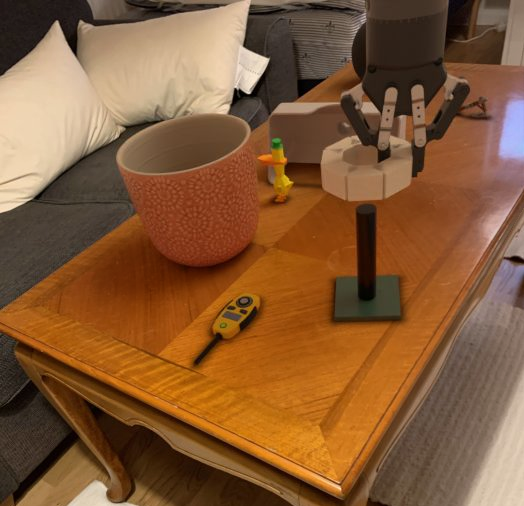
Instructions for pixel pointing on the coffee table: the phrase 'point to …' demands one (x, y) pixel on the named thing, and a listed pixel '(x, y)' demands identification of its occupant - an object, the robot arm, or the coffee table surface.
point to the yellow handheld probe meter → (233, 319)
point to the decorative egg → (359, 51)
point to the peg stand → (367, 278)
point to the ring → (365, 169)
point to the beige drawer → (317, 129)
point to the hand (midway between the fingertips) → (399, 174)
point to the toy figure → (278, 169)
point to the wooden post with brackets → (480, 101)
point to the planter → (194, 186)
